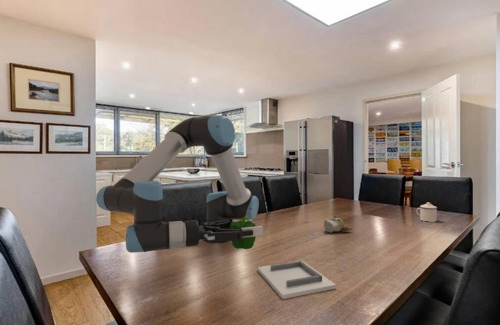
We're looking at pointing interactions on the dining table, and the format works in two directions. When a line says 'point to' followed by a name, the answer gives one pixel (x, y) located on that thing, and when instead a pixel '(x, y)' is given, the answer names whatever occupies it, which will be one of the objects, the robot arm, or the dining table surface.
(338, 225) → the garlic bulb
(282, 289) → the board
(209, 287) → the dining table surface
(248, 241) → the bell pepper
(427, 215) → the teacup with lid
